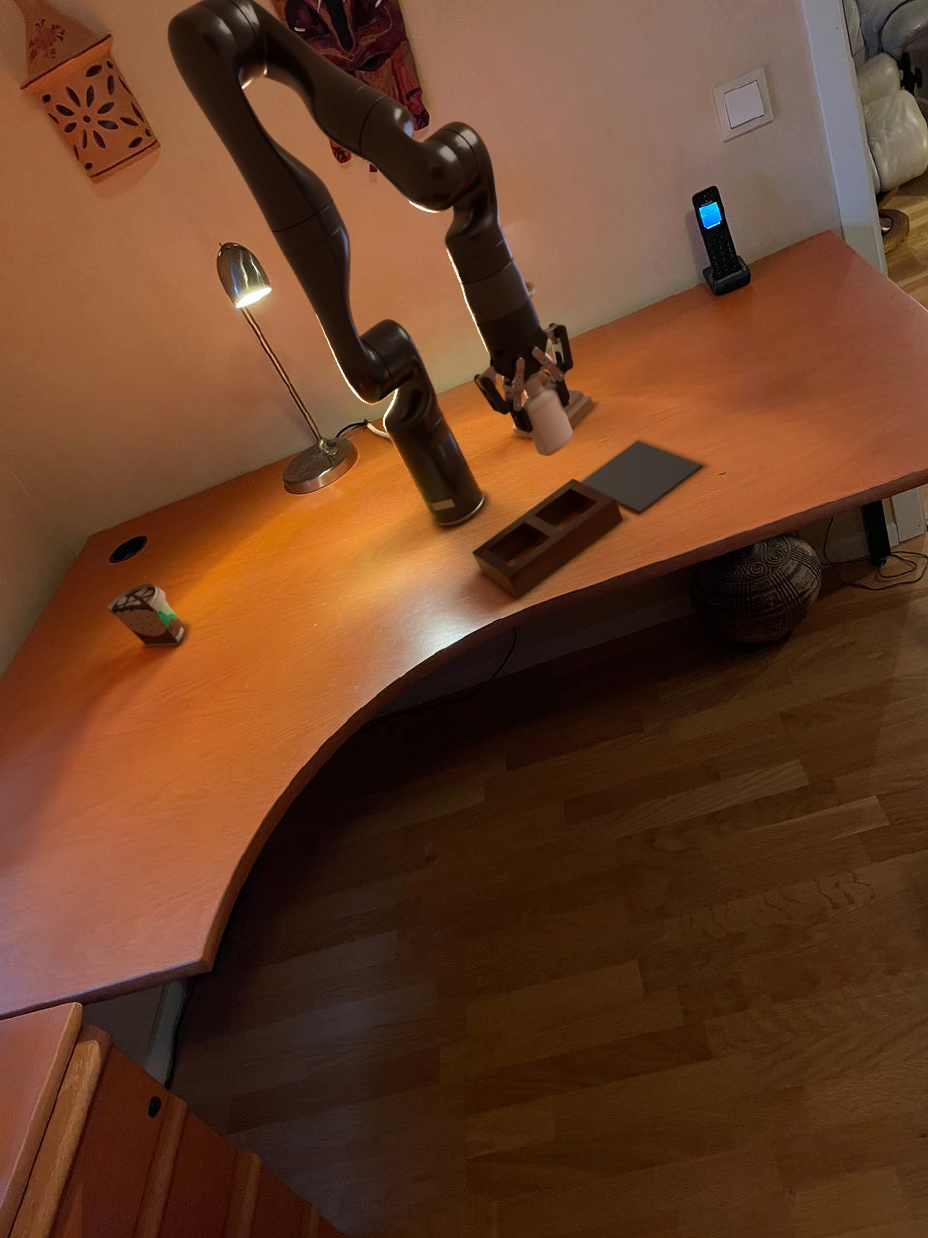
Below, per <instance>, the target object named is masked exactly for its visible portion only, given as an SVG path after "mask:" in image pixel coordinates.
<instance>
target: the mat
mask: <svg viewBox="0 0 928 1238" xmlns="http://www.w3.org/2000/svg"><path fill="white" fill-rule="evenodd" d="M702 468H703V464H701V463H698V462H696V461H693V460H691V459H688V458H686V457H682V456H679V455H677V454H674V453H671V452H668V451H666V450H663V449H660V448H658V447H655V446H653V445H651V444H646V443H645V442H641V441H639V440H636V441H635V442H633V443H632V444H631V445H629V446H628V447H627V448H625V449H624V450H623V451H621V452H620V453H618V454H617V455H615V456H614V457H613V458H612V459H610V460H609V461H607V463H605V464H604V465H601V467H600V468H598V469H596V470H595V471H594V472H593V473H591V474H590V475H589V476H587V477H586V478H584V479H583V480H581V481H580V482H581V483H583V484H585V485H587V486H589V487H592V488H594V489H596V490H598V491H600V492H602V493H604V494H606V495H609V496H611V497H613V498H615V499H616V502H617V504H620V505H622V506H625V507H626V508H628V509H630V510H632V511H635V512H637V513H639V514H642V513H644V512H645V511H646V510H647V509H649V508H650V507H651V506H653V505H654V504H655V503H657V502H658V501H659V500H661V499H662V498H663V497H665V496H666V495H667V494H669V493H670V492H672V491H673V490H674V489H675V488H677V487H678V486H679V485H680V484H682V483H684V482H685V481H686V480H687V479H688V478H690V477H691V476H693V475H694V474H695V473H696V472H698V471H699V470H701V469H702Z"/></svg>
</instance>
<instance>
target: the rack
mask: <svg viewBox="0 0 928 1238" xmlns="http://www.w3.org/2000/svg"><path fill="white" fill-rule="evenodd" d="M581 482H582V481H579V480H577V479H575V478H571V479H570V480H569V481H567V482H566V483H565V484H563V485H562V486H560V487H559V488H557V489H556V490H555V491H554V492H552V493H550V494H549V495H547V497H545V498H543V499H542V500H541V501H540V502H538V503H537V504H536V505H534V506H533V507H532V508H530V509H529V510H527V511H526V512H524V514H522V515H521V516H519V517H518V518H517V519H515V520H513V521H512V522H511V523H509V524H508V525H507V526H505V527H504V528H503V529H501V530H500V531H499V532H497V533H496V534H495V535H493V536H492V537H490V538H489V539H488V540H487V541H485V542H484V543H483V544H481V545H480V546H478V547H477V548H476V549H474V550H472V551H471V554H472V555H473V558H474V560H475V561H476V563H477V565H478V567H479V569H480V571H481V573H483V574H484V575H486V576H487V577H488V578H490V579H491V580H492V581H493V582H495V583H496V584H497V585H499V586H500V587H502V588H503V589H505V591H507V592H509V594H511V595H513V596H514V597H515V598H516V599H519V600H520V598H522V597H523V596H524V595H526V594H528V593H529V592H530V591H531V590H533V589H534V588H535V587H537V586H538V585H539V584H541V583H542V582H543V581H544V580H546V579H547V578H549V576H551V575H553V574H554V573H556V571H558V570H559V569H561V568H562V567H563V566H564V565H566V564H567V563H569V562H570V561H571V560H572V559H574V558H575V557H576V556H577V555H579V554H580V553H582V552H583V551H584V550H586V549H587V548H588V547H590V546H591V545H592V544H594V543H595V542H596V541H598V540H599V539H600V538H602V537H603V536H604V535H605V534H607V533H608V532H609V531H611V530H612V529H613V528H615V527H616V526H618V525H619V524H620V523H621V522H623V521H624V519H623V516H622V514H621V510H620V507H619V504H618V502H616V499H615V498H613V497H611V496H609V495H606V494H604V493H602V492H600V491H598V490H596V489H594V488H592V487H589V486H587V485H585V484H583V483H581ZM578 510H579V511H582V512H583V513H582V514H580V515H578V516H577V517H576V518H575V519H573V520H572V521H570V522H569V523H568V524H567V525H565V526H563V528H561V529H559V528H558V527H557V526H558V525H559V524H560V523H563V521H565V520H566V519H567V518H569V517H570V516H572V515H573V514H574V513H575V512H577V511H578ZM533 543H535V544H536V545H538V546H537V547H536V548H534V549H533V550H531V551H530V552H529V553H527V554H526V555H525V556H524V557H522V558H521V559H519V560H518V561H517V562H515V563H514V564H512V565H511V564H509V563H508V562H509V561H510V560H512V559H513V558H515V557H517V555H518V554H520V553H521V552H523V551H524V550H525V549H527V548H528V547H529V546H531V545H532V544H533Z"/></svg>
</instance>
